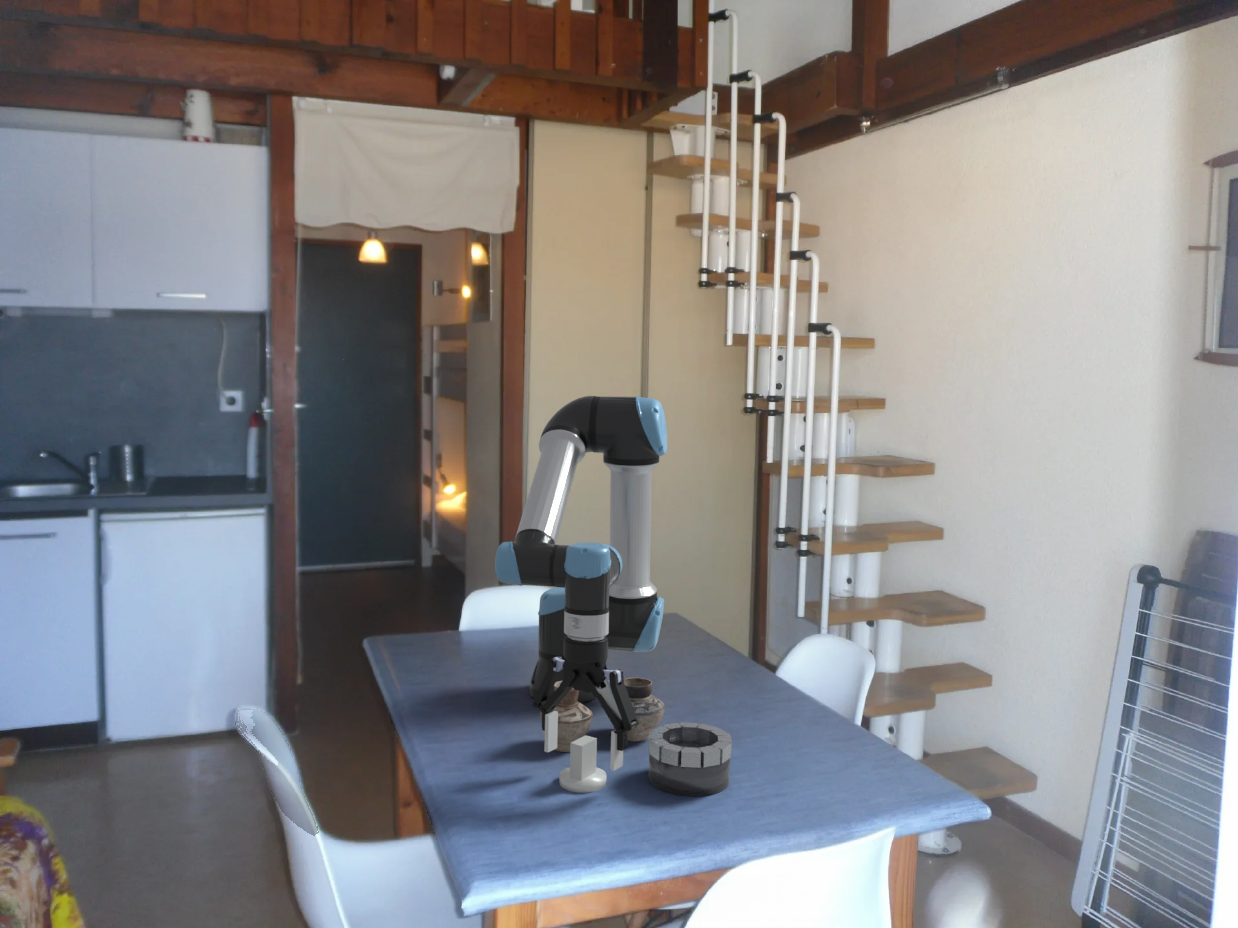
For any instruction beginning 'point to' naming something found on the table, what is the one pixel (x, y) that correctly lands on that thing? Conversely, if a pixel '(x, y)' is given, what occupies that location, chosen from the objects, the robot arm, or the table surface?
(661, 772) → the toothed ring drum
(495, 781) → the table surface
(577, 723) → the pottery
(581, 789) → the cap
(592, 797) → the table surface
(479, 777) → the table surface
